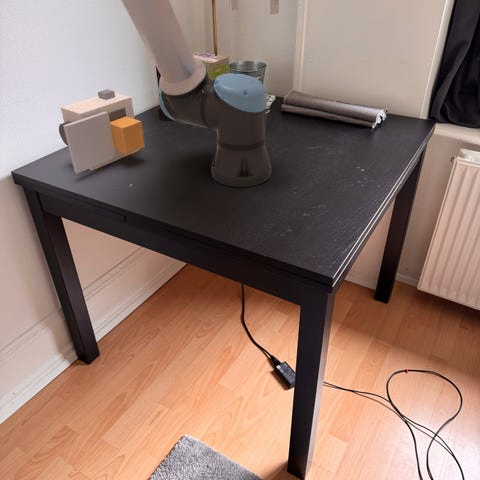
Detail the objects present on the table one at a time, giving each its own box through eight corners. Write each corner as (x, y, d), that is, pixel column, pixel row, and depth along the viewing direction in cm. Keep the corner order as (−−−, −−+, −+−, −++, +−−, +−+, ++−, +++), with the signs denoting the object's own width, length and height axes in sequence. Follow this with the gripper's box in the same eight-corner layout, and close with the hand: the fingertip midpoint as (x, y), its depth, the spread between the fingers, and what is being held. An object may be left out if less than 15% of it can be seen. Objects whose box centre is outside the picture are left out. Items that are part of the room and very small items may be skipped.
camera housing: (140, 150, 127) (132, 91, 118) (87, 173, 116) (72, 110, 106) (120, 143, 132) (111, 86, 122) (67, 165, 120) (52, 103, 111)
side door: (145, 154, 121) (139, 109, 114) (89, 178, 109) (78, 131, 102) (130, 148, 124) (123, 105, 117) (74, 172, 112) (63, 125, 105)
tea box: (181, 98, 165) (177, 56, 157) (198, 91, 172) (196, 50, 164) (214, 105, 158) (212, 61, 150) (231, 98, 165) (229, 55, 157)
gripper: (306, -88, 105) (300, 13, 117) (224, -86, 118) (226, 6, 130) (288, -88, 100) (284, 17, 112) (204, -86, 113) (209, 9, 125)
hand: (253, 11), depth 121 cm, fingers open, 13 cm apart
